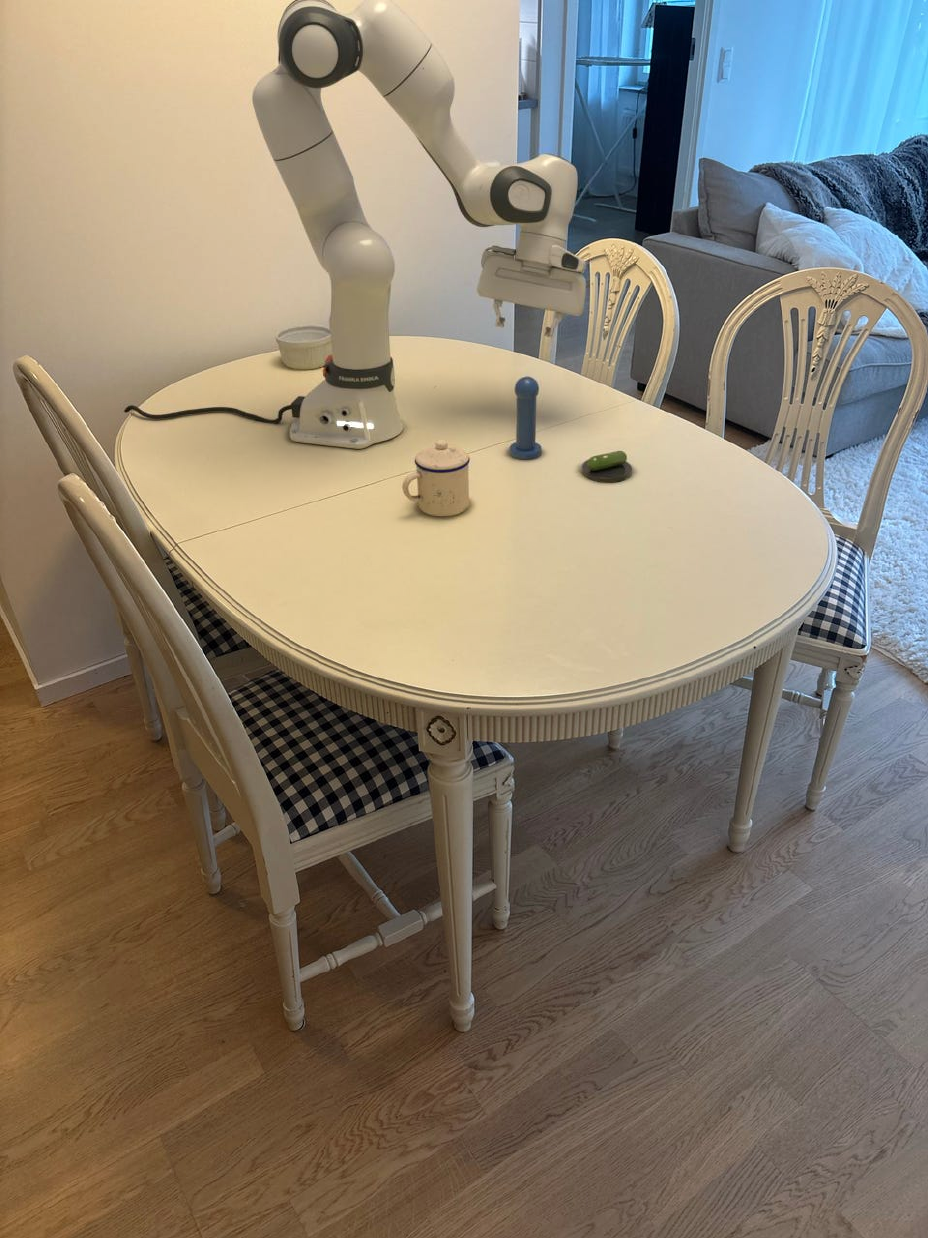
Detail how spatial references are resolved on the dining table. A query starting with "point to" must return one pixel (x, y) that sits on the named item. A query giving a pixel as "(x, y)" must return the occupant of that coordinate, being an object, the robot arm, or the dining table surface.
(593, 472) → the pickle
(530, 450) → the blue handle
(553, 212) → the robot arm
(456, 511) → the teacup with lid
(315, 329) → the ramekin
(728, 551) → the dining table surface
